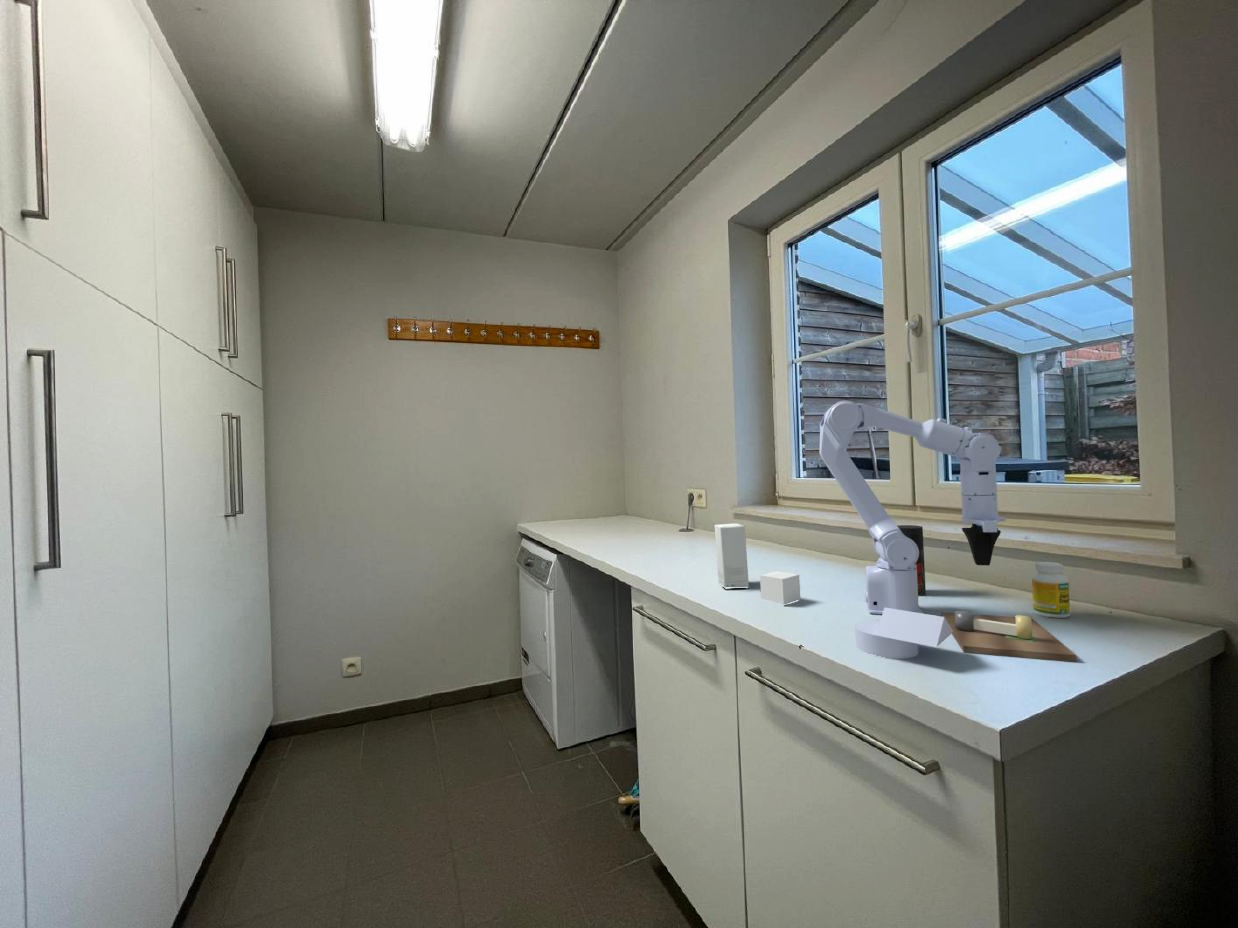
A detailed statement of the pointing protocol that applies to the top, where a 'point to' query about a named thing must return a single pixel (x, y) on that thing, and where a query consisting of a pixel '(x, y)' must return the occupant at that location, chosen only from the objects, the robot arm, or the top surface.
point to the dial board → (1010, 641)
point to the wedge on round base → (900, 633)
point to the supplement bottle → (1050, 591)
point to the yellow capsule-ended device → (994, 625)
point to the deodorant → (917, 536)
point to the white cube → (780, 587)
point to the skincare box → (731, 555)
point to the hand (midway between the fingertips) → (982, 564)
